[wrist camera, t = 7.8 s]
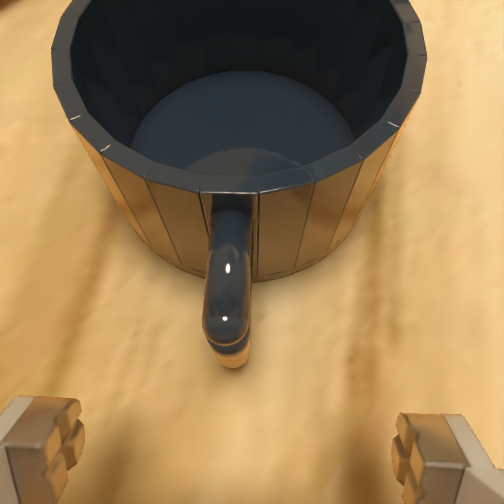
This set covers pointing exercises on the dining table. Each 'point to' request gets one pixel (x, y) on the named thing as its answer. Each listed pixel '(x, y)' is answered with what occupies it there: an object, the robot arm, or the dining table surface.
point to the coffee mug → (239, 128)
